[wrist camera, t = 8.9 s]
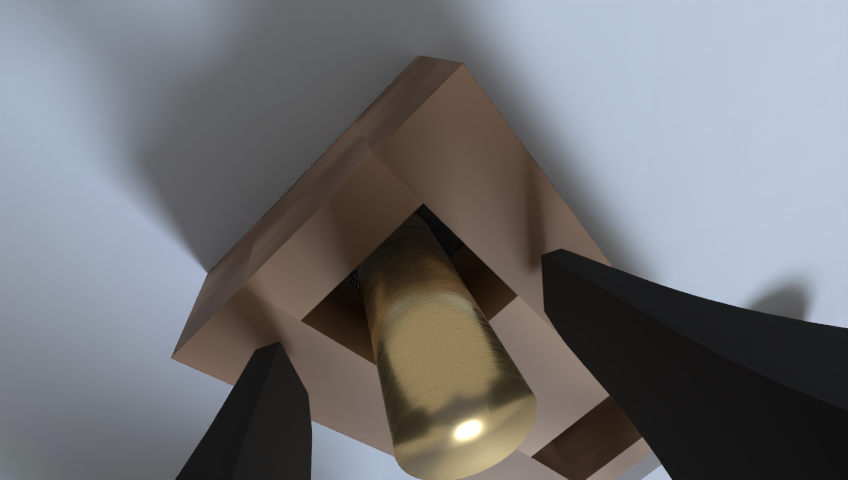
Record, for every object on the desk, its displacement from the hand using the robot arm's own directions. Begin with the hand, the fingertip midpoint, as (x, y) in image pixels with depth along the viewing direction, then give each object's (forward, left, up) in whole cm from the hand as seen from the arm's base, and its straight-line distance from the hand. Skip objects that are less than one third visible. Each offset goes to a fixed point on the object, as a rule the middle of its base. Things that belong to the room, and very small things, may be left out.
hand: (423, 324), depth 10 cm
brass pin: (0, 0, -5) cm, 5 cm away
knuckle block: (0, -6, -5) cm, 8 cm away
